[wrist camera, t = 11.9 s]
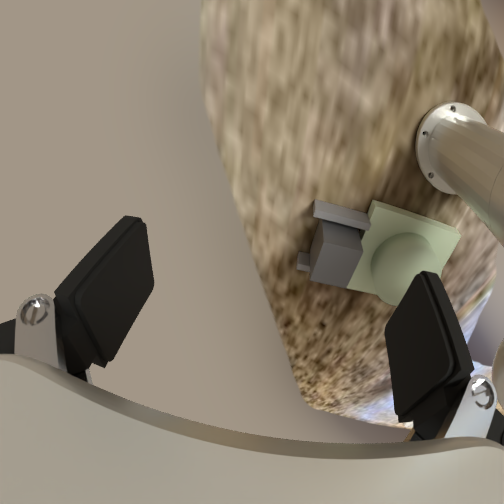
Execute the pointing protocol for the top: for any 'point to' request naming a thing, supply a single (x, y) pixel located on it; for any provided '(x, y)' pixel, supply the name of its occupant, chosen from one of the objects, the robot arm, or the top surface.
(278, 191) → the top surface
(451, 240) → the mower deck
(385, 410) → the top surface
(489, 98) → the top surface
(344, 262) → the grey rectangular block
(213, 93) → the top surface
